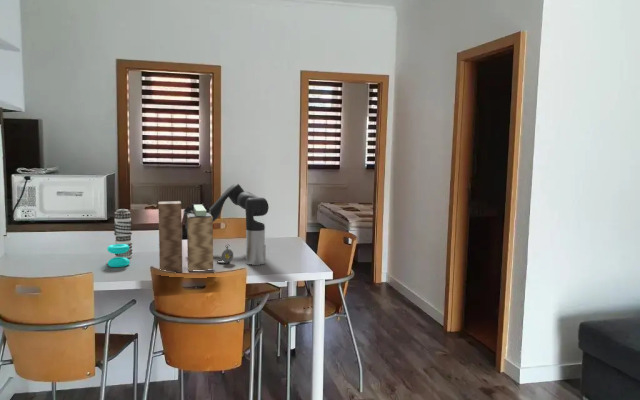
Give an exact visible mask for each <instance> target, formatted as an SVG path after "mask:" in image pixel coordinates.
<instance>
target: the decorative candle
mask: <svg viewBox="0 0 640 400" xmlns="http://www.w3.org/2000/svg"><path fill="white" fill-rule="evenodd" d="M132 221H133V219H132V218H131V211H130V210H129V209H125V208H120V209H116V210H115V212H114V223H113V228H114V230H113V232H114V233H113V234H114V237H115V240H114V241H115V243H114V244H126V245H128V246H129V250H128V251H127V252H125V253H121V254H114V255H115V257H114V258H116V257H125V258H127V259H129V258H132V257H133V249H132V248H133V246H132V245H133V243H132V235H133V233H132V231H133V229H132V228H133V225H132V224H133V222H132Z"/></svg>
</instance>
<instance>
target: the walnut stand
mask: <svg viewBox="0 0 640 400" xmlns="http://www.w3.org/2000/svg"><path fill="white" fill-rule="evenodd" d="M182 224H183V223H182V202H181V200H177V201H176V200H175V201H173V200H172V201H158V242H159V243H158V250H159V251H158V252H159V254H158V255H159V270H160V269H161V270H166V271H177V272H176V273H180V271H182V272H183V231H182V230H183V229H182Z"/></svg>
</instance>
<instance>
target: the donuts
mask: <svg viewBox="0 0 640 400" xmlns="http://www.w3.org/2000/svg"><path fill="white" fill-rule="evenodd" d="M106 250H107V251H108V253H110V254H114V255H115V254H121V253H125V252H127V251H128V250H129V246H128V245H126V244H116V243H114V244H110V245H108V246H107V248H106ZM130 264H131V261H130V259H129V258H125V257H116V258H115V257H113V258H110V259H109V260H108V261H107V266H109V267H111V268H123V267H127V266H128V265H130Z"/></svg>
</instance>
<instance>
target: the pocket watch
mask: <svg viewBox="0 0 640 400" xmlns="http://www.w3.org/2000/svg"><path fill="white" fill-rule="evenodd" d="M229 247H230V244H229V243H228V244H226V245H225V249H224V250H223V251H222V253H221V259H218V260H216V263H217V264H219V263H226V264H229V263H231V261H232V260H233V258H234V252H233V251H232V249H230V248H229ZM222 260H223V261H224V262H218V261H222ZM228 262H229V263H228Z"/></svg>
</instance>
